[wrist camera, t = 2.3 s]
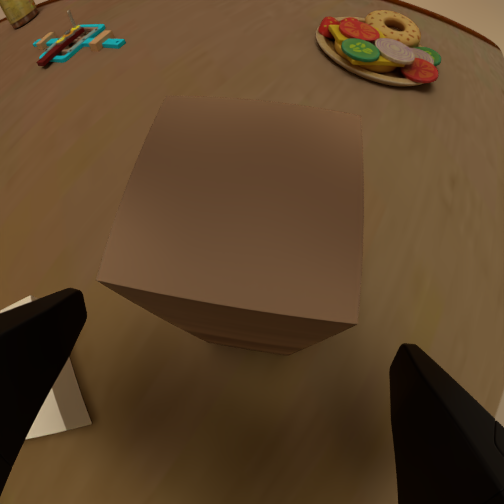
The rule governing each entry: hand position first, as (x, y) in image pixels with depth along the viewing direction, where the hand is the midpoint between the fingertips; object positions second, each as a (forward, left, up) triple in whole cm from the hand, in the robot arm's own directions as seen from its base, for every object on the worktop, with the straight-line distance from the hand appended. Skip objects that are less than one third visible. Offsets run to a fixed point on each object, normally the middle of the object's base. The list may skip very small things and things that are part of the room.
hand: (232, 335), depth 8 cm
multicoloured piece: (+41, +8, -10) cm, 43 cm away
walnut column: (+2, -1, -10) cm, 10 cm away
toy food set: (+20, -23, -10) cm, 32 cm away
